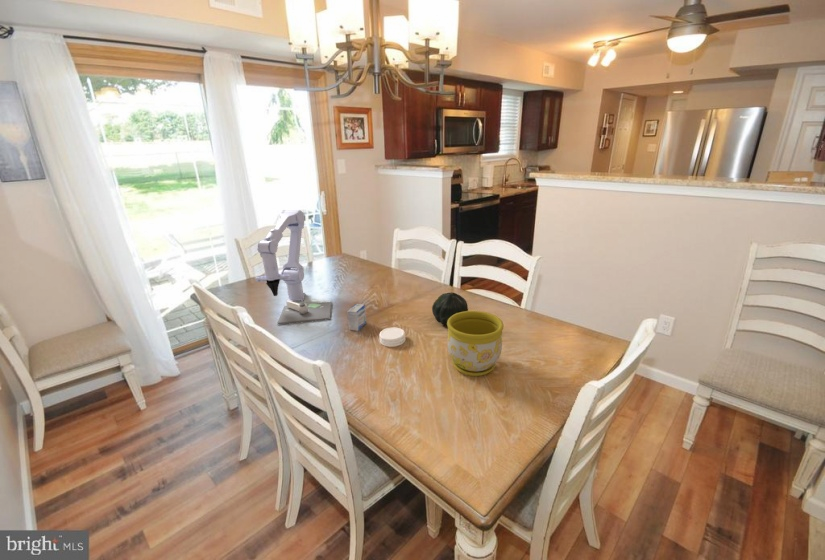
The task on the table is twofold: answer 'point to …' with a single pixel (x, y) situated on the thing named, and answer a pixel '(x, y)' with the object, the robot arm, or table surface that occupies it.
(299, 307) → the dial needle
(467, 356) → the flowerpot
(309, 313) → the dial base
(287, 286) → the robot arm
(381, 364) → the table surface
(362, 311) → the medicine box
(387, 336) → the coaster
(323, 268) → the table surface
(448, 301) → the squash
